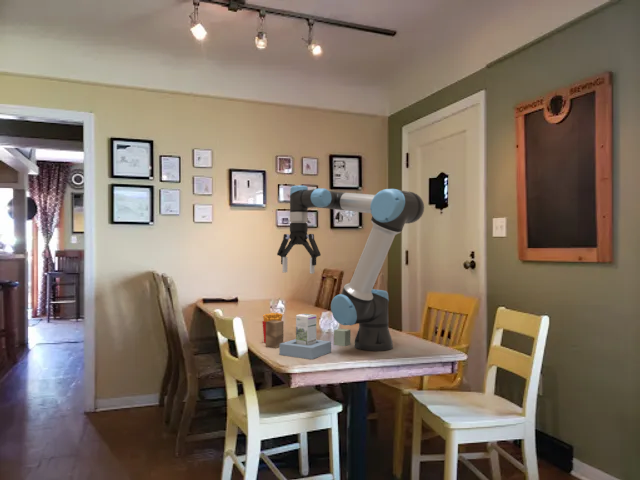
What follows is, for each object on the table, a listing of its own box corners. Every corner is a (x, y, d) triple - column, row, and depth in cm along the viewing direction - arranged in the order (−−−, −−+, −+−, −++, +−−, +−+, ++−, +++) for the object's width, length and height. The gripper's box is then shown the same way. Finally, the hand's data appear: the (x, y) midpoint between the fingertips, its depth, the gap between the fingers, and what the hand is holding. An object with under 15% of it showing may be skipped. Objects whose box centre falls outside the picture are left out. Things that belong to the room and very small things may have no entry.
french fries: (264, 343, 197) (265, 314, 197) (261, 342, 201) (261, 313, 201) (283, 341, 201) (284, 313, 201) (279, 340, 205) (280, 312, 205)
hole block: (331, 352, 183) (331, 341, 183) (312, 359, 170) (312, 348, 171) (299, 347, 190) (299, 337, 190) (279, 354, 177) (279, 343, 178)
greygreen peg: (350, 344, 198) (350, 329, 198) (344, 346, 194) (344, 331, 194) (339, 343, 200) (339, 328, 201) (333, 345, 196) (334, 330, 196)
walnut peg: (283, 346, 193) (283, 321, 193) (276, 348, 189) (276, 322, 189) (273, 344, 195) (273, 320, 196) (265, 347, 191) (265, 321, 191)
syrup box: (317, 353, 180) (317, 314, 181) (307, 356, 176) (307, 316, 176) (305, 351, 184) (305, 313, 184) (295, 353, 179) (295, 314, 179)
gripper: (328, 222, 201) (328, 273, 201) (279, 223, 213) (279, 271, 213) (319, 221, 194) (319, 274, 194) (269, 222, 207) (269, 272, 206)
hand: (298, 273), depth 204 cm, fingers open, 13 cm apart
